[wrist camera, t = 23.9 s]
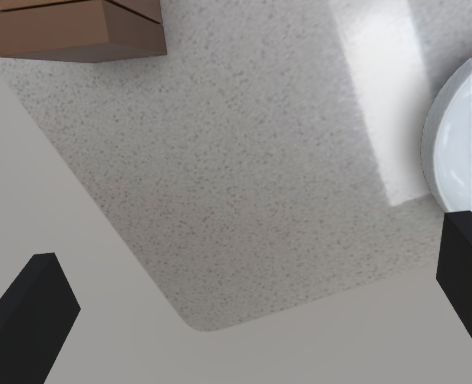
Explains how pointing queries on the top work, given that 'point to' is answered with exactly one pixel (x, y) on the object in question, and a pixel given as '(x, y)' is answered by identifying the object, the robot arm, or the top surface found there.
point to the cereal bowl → (450, 143)
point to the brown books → (81, 30)
